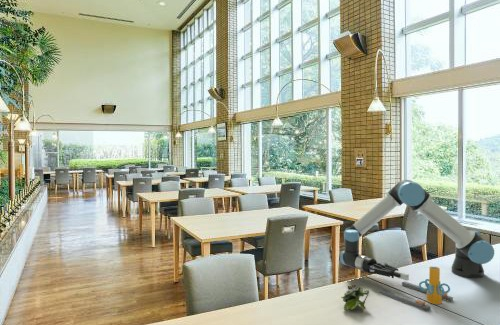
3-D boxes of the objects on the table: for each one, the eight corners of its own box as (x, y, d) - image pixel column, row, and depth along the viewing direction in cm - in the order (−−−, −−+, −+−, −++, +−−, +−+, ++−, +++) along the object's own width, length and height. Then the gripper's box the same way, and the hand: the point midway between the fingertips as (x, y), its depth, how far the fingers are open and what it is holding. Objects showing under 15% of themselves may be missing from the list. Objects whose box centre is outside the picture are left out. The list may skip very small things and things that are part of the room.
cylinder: (454, 306, 157) (455, 271, 157) (433, 308, 156) (433, 273, 155) (435, 295, 169) (435, 263, 169) (414, 297, 168) (415, 264, 167)
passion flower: (351, 316, 161) (359, 290, 166) (370, 321, 152) (378, 293, 156) (333, 306, 157) (342, 279, 162) (352, 310, 148) (361, 282, 152)
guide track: (379, 292, 173) (379, 287, 173) (404, 284, 184) (404, 279, 183) (427, 311, 153) (428, 305, 153) (452, 300, 163) (453, 295, 163)
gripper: (374, 269, 194) (416, 282, 175) (357, 273, 187) (399, 288, 168) (374, 254, 194) (416, 266, 175) (357, 259, 187) (399, 272, 167)
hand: (407, 277), depth 171 cm, fingers closed
